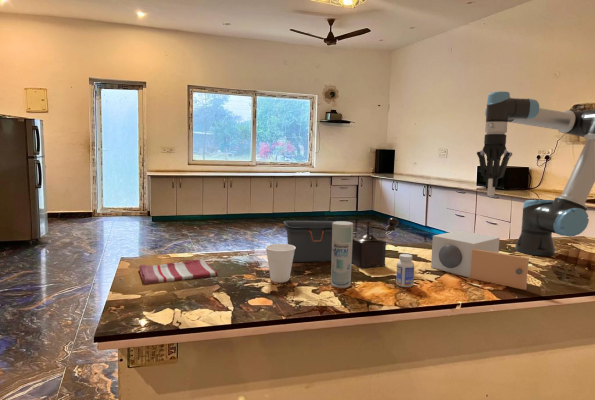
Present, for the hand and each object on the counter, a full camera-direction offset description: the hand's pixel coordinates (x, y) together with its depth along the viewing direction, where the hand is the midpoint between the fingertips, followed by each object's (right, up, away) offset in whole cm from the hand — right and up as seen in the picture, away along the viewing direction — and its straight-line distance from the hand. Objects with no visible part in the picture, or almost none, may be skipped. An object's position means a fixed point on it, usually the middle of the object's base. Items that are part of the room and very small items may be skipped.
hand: (490, 195), depth 164 cm
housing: (-13, -27, -7) cm, 31 cm away
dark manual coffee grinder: (-46, -26, -2) cm, 53 cm away
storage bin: (-69, -25, +1) cm, 74 cm away
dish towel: (-115, -27, -20) cm, 120 cm away
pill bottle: (-40, -29, -27) cm, 57 cm away
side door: (-10, -29, -25) cm, 40 cm away
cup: (-80, -28, -25) cm, 89 cm away
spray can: (-61, -29, -28) cm, 73 cm away
